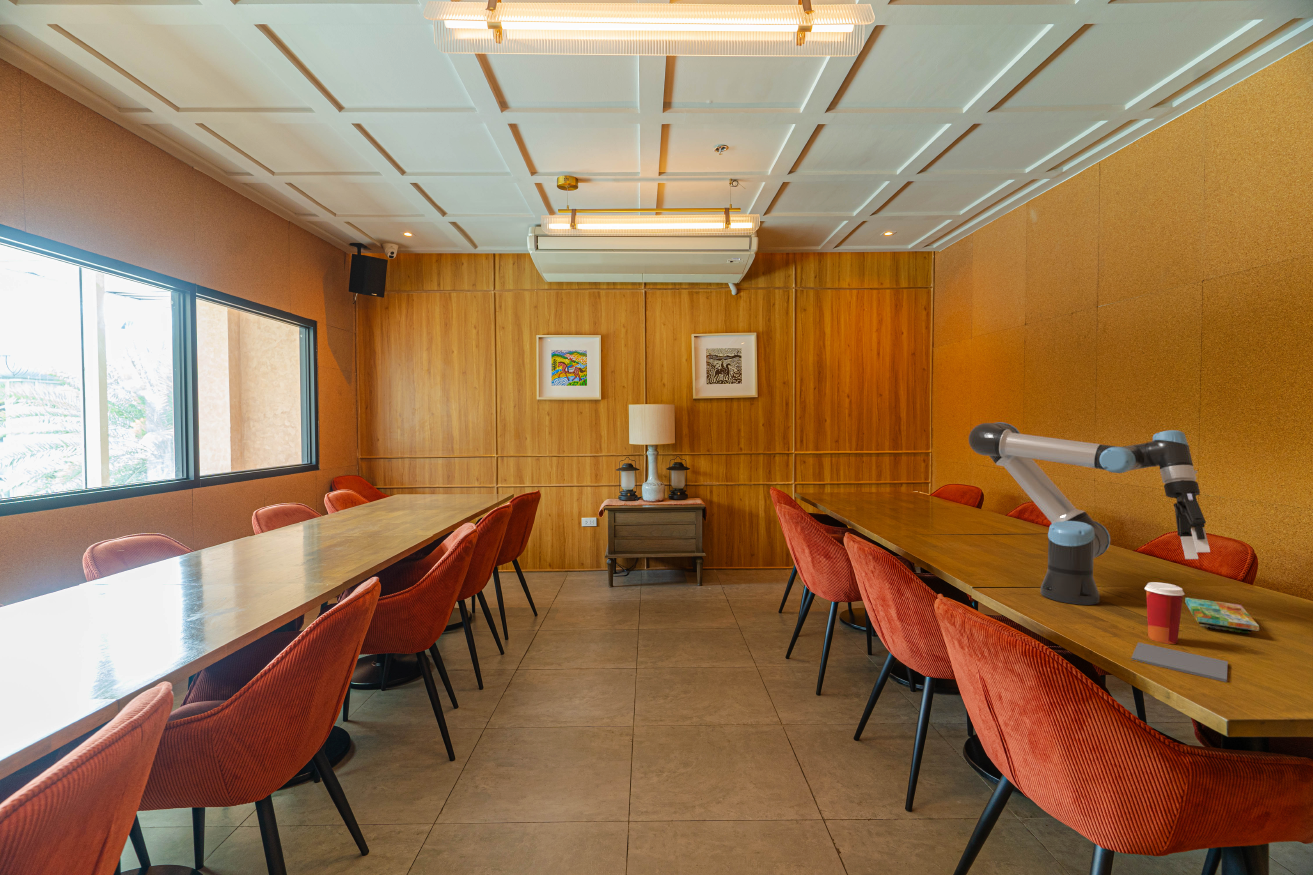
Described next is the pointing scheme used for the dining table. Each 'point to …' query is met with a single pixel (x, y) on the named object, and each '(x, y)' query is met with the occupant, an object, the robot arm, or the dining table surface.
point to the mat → (1181, 661)
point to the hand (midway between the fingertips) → (1197, 555)
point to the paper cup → (1163, 611)
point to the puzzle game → (1221, 615)
